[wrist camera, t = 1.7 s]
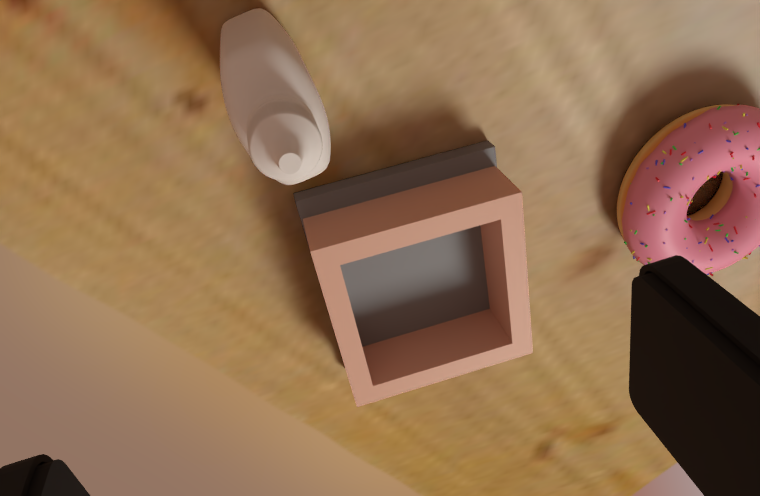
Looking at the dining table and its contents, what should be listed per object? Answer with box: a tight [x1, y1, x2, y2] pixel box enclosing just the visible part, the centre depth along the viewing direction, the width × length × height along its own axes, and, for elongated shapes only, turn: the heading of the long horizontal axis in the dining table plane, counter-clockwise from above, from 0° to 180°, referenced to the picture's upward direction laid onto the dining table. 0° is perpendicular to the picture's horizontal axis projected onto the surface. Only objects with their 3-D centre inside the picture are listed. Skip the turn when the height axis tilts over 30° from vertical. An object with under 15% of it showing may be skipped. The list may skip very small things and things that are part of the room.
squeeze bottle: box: [220, 8, 331, 185], centre depth 23 cm, size 4×6×12 cm
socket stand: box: [293, 141, 533, 407], centre depth 34 cm, size 13×11×4 cm
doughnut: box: [617, 104, 760, 276], centre depth 36 cm, size 11×11×4 cm
